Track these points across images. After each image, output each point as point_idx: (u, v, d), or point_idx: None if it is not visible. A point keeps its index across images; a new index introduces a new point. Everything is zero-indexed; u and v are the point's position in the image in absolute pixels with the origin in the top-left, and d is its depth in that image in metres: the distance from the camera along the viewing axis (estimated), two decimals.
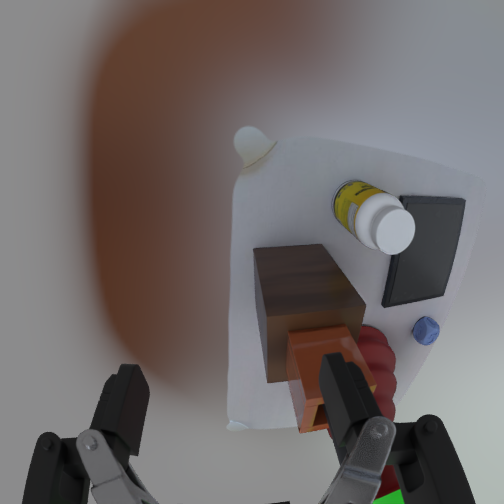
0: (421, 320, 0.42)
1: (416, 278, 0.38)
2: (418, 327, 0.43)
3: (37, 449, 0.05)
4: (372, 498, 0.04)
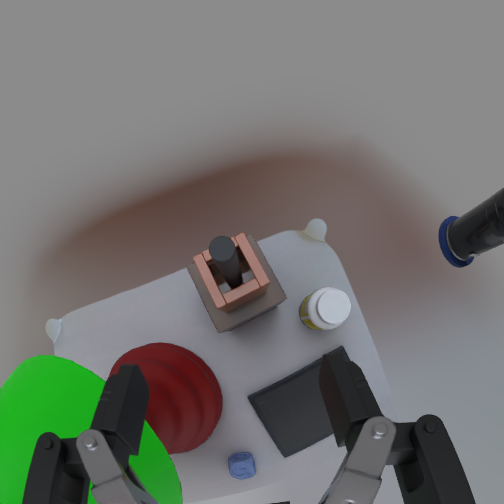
0: (249, 453, 0.38)
1: (288, 410, 0.40)
2: (241, 455, 0.37)
3: (37, 449, 0.05)
4: (372, 498, 0.04)
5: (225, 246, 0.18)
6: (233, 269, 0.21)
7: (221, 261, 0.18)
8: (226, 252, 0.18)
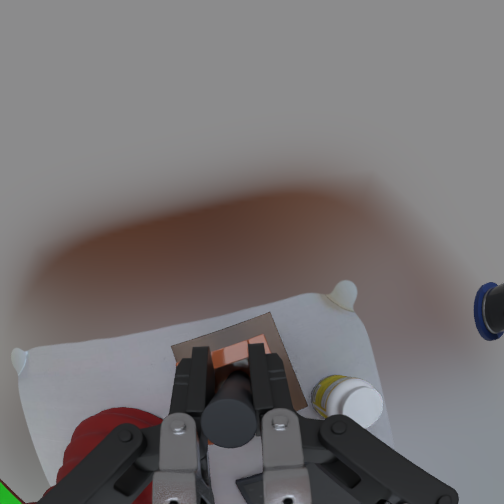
0: None
1: None
2: None
3: (111, 435, 0.07)
4: (307, 486, 0.05)
5: (236, 421, 0.07)
6: None
7: (225, 446, 0.07)
8: (237, 433, 0.07)
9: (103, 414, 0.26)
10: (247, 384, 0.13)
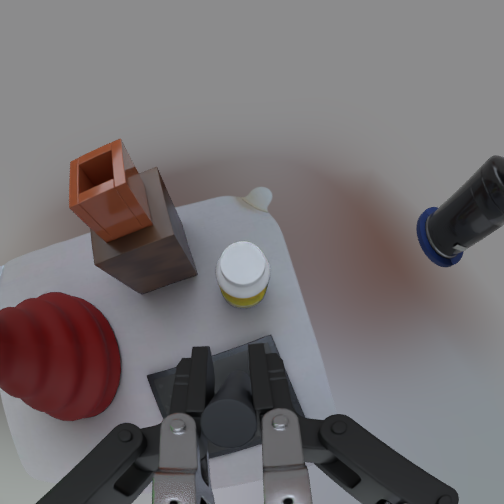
0: None
1: None
2: None
3: (111, 435, 0.07)
4: (307, 486, 0.05)
5: (236, 421, 0.07)
6: None
7: (225, 446, 0.07)
8: (237, 433, 0.07)
9: (45, 294, 0.32)
10: (247, 384, 0.13)
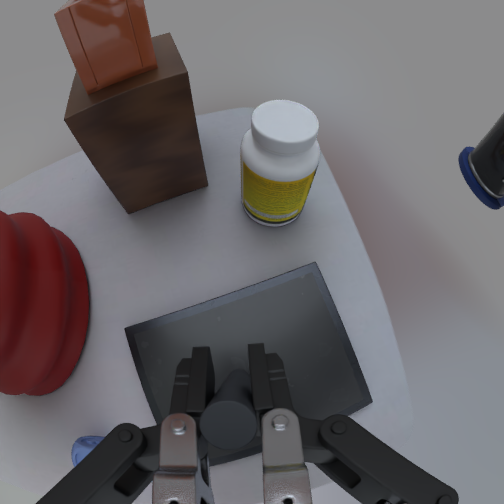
0: None
1: None
2: None
3: (110, 435, 0.07)
4: (307, 486, 0.05)
5: (236, 423, 0.07)
6: None
7: (224, 448, 0.07)
8: (237, 435, 0.07)
9: None
10: (247, 384, 0.13)
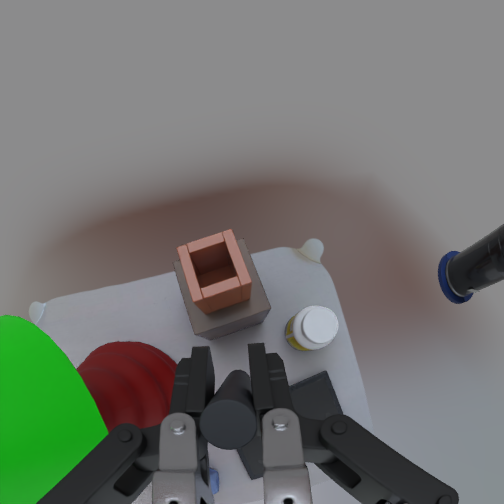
0: (214, 470, 0.33)
1: None
2: None
3: (111, 435, 0.07)
4: (308, 486, 0.05)
5: (236, 422, 0.07)
6: None
7: (224, 448, 0.07)
8: (237, 434, 0.07)
9: (111, 343, 0.37)
10: (247, 384, 0.13)
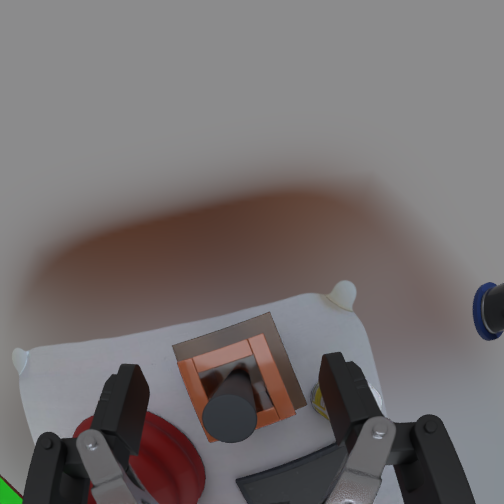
0: None
1: (281, 497, 0.26)
2: None
3: (37, 449, 0.05)
4: (372, 498, 0.04)
5: (237, 416, 0.08)
6: None
7: (226, 441, 0.07)
8: (238, 428, 0.07)
9: None
10: (247, 382, 0.13)
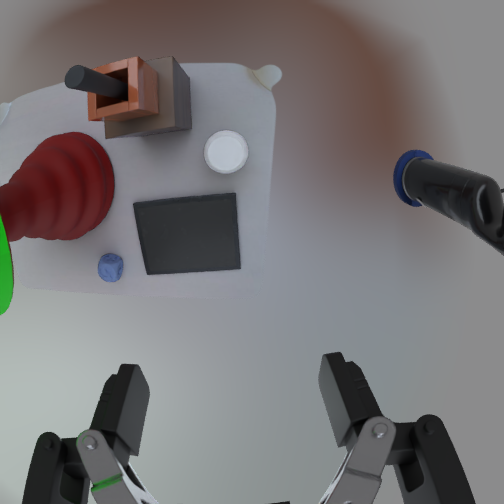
0: (120, 258, 0.48)
1: (163, 230, 0.46)
2: (113, 257, 0.47)
3: (37, 449, 0.05)
4: (372, 498, 0.04)
5: (77, 75, 0.13)
6: (96, 91, 0.16)
7: (70, 87, 0.13)
8: (75, 80, 0.13)
9: None
10: (114, 80, 0.18)
